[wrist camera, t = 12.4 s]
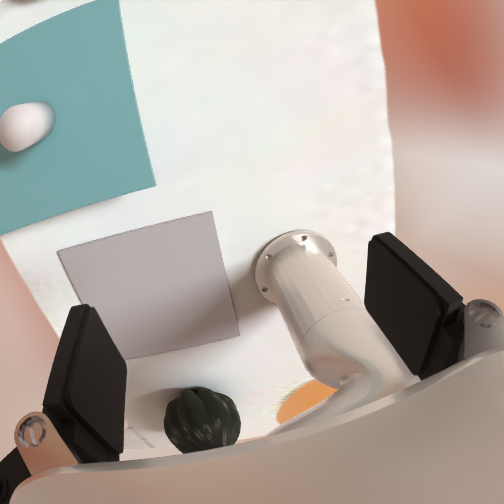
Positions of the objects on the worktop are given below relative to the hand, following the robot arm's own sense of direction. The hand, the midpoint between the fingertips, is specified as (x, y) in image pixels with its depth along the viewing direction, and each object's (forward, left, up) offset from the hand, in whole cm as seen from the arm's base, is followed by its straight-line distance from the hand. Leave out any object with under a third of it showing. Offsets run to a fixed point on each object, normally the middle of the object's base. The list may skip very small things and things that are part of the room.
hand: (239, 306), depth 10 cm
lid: (+16, +4, -23) cm, 29 cm away
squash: (-24, +42, -31) cm, 57 cm away
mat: (-6, +22, -30) cm, 38 cm away
